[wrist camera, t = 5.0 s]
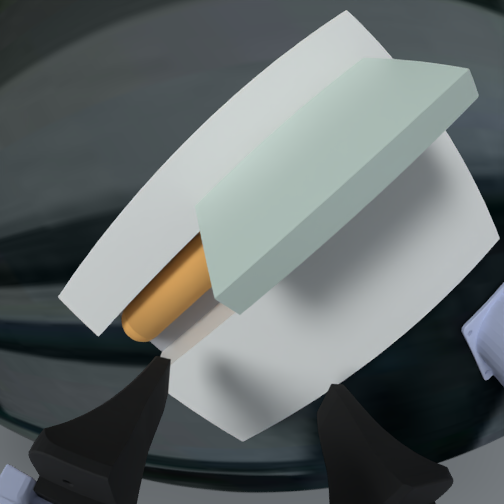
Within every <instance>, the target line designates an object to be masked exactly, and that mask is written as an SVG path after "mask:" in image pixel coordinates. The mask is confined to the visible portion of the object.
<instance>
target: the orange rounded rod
mask: <svg viewBox="0 0 504 504" xmlns="http://www.w3.org/2000/svg"><path fill="white" fill-rule="evenodd" d="M211 287H212V285H211V281H210V276H209V272H208V267H207V263H206V258H205V253H204V248H203V244H202V239H201V234H200V232H199V233H198V234H197V235H196V236H195V237H194V238H193V239H192V240H191V241H190V242H189V243H188V244H187V245H186V246H185V247H184V248H183V249H182V250H181V251H180V252H179V253H178V254H177V255H176V256H175V257H174V258H173V259H172V260H171V261H170V262H169V263H168V264H167V265H166V266H165V267H164V268H163V269H162V270H161V271H160V272H159V273H158V274H157V275H156V276H155V277H154V278H153V279H152V280H151V281H150V282H149V283H148V284H147V285H146V286H145V287H144V288H143V290H142V291H141V292H140V293H139V294H138V295H137V296H136V297H135V298H134V299H133V300H132V301H131V302H130V303H129V304H128V305H127V307H126V308H125V309H124V311H123V314H122V327H123V329H124V331H125V332H126V334H127V335H128V336H129V337H130V338H132V339H133V340H136V341H140V342H147V341H150V340H152V339H154V338H155V337H157V336H158V335H159V334H160V333H161V332H162V331H163V330H164V329H165V328H167V327H168V326H169V325H170V324H171V323H172V322H173V321H174V320H175V319H177V318H178V317H179V316H180V315H181V314H182V313H183V312H184V311H185V310H187V309H188V308H189V307H190V306H191V305H192V304H193V303H194V302H195V301H197V300H198V299H199V298H200V297H201V296H202V295H203V294H204V293H205V292H207V291H208V290H209V289H210V288H211Z"/></svg>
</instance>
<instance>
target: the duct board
mask: <svg viewBox="0 0 504 504" xmlns="http://www.w3.org/2000/svg"><path fill="white" fill-rule="evenodd" d="M363 58H382V59H393V58H392V57H391V56H390V55H389V54H388V52H387V51H386V50H385V49H384V48H383V47H382V46H381V45H380V43H379V42H378V41H377V40H376V39H375V38H374V37H373V36H372V35H371V34H370V33H369V32H368V31H367V30H366V29H365V28H364V27H363V26H362V25H361V24H360V23H359V22H358V21H357V20H356V19H355V18H354V17H353V16H352V15H351V14H350V13H349V12H348V11H347V10H346V11H344V12H343V13H341V14H340V15H338V16H337V17H335V18H334V19H332V20H331V21H329V22H328V23H326V24H325V25H323V26H322V27H320V28H319V29H318V30H316V31H315V32H313V33H312V34H311V35H309V36H308V37H306V38H305V39H304V40H302V41H301V42H300V43H298V44H297V45H296V46H294V47H293V48H292V49H290V50H289V51H288V52H286V53H285V54H284V55H282V56H281V57H280V58H279V59H277V60H276V61H275V62H274V63H272V64H271V65H270V66H269V67H267V68H266V69H265V70H264V71H262V72H261V73H260V74H259V75H258V76H256V77H255V78H254V79H253V80H252V81H250V82H249V83H248V84H247V85H246V86H245V87H243V88H242V89H241V90H240V91H239V92H238V93H237V94H235V95H234V96H233V97H232V98H231V99H230V100H229V101H228V102H226V103H225V104H224V105H223V106H222V107H221V108H220V109H219V110H218V111H217V112H216V113H215V114H213V115H212V116H211V117H210V118H209V119H208V120H207V121H206V122H205V123H204V124H203V125H202V126H201V127H200V128H199V129H198V130H197V131H196V132H195V133H194V134H193V135H192V136H191V137H190V138H189V139H188V140H187V141H186V142H185V143H184V144H183V145H182V146H181V147H180V148H179V149H178V150H177V151H176V152H175V153H174V154H173V155H172V156H171V157H170V158H169V159H168V160H167V161H166V162H165V163H164V164H163V166H162V167H161V168H160V169H159V170H158V171H157V172H156V173H155V174H154V175H153V176H152V178H151V179H150V180H149V181H148V182H147V183H146V184H145V185H144V186H143V188H142V189H141V190H140V191H139V192H138V193H137V194H136V196H135V197H134V198H133V199H132V200H131V201H130V203H129V204H128V205H127V206H126V207H125V209H124V210H123V211H122V212H121V213H120V215H119V216H118V217H117V218H116V219H115V221H114V222H113V223H112V224H111V226H110V227H109V228H108V229H107V231H106V232H105V233H104V234H103V236H102V237H101V238H100V240H99V241H98V242H97V243H96V245H95V246H94V247H93V249H92V250H91V251H90V253H89V254H88V255H87V257H86V258H85V259H84V261H83V262H82V263H81V265H80V266H79V268H78V269H77V270H76V272H75V273H74V275H73V276H72V277H71V279H70V280H69V282H68V283H67V285H66V286H65V288H64V289H63V291H62V292H61V293H60V295H59V296H58V298H59V299H60V300H61V301H62V302H63V303H64V304H65V305H66V306H67V307H68V308H69V309H70V310H71V311H72V312H73V313H74V314H75V315H76V316H77V317H78V318H79V319H80V320H81V321H82V322H83V323H84V324H86V325H87V326H88V327H89V328H90V329H91V330H92V331H93V332H94V333H95V334H96V335H97V336H98V337H99V335H100V334H101V333H102V332H103V331H104V330H105V329H106V328H107V327H108V326H109V324H110V323H111V322H112V321H113V320H114V319H115V318H116V317H117V316H118V315H119V314H120V315H121V316H122V314H123V311H124V309H125V308H126V307H127V305H128V304H129V303H130V302H131V301H132V300H133V299H134V298H135V297H136V296H137V295H138V294H139V293H140V292H141V291H142V290H143V288H144V287H145V286H146V285H147V284H148V283H149V282H150V281H151V280H152V279H153V278H154V277H155V276H156V275H157V274H158V273H159V272H160V271H161V270H162V269H163V268H164V267H165V266H166V265H167V264H168V263H169V262H170V261H171V260H172V259H173V258H174V257H175V256H176V255H177V254H178V253H179V252H180V251H181V250H182V249H183V248H184V247H185V246H186V245H187V244H188V243H189V242H190V241H191V240H192V239H193V238H194V237H195V236H196V235H197V234H198V233H199V232H200V229H199V224H198V219H197V214H196V209H195V206H196V205H197V204H198V203H199V202H200V201H201V200H202V199H203V198H204V197H205V196H206V195H207V194H208V193H209V192H210V191H211V190H212V189H213V188H214V187H215V186H216V185H217V184H218V183H219V182H220V181H221V180H222V179H223V178H224V177H225V176H226V175H227V174H228V173H229V172H230V171H231V170H233V169H234V168H235V167H236V166H237V165H238V164H239V163H240V162H241V161H242V160H243V159H244V158H245V157H246V156H247V155H249V154H250V153H251V152H252V151H253V150H254V149H255V148H256V147H257V146H258V145H259V144H261V143H262V142H263V141H264V140H265V139H266V138H267V137H268V136H269V135H271V134H272V133H273V132H274V131H275V130H276V129H277V128H279V127H280V126H281V125H282V124H283V123H284V122H285V121H287V120H288V119H289V118H290V117H291V116H292V115H293V114H295V113H296V112H297V111H298V110H299V109H300V108H302V107H303V106H304V105H305V104H306V103H308V102H309V101H310V100H311V99H312V98H314V97H315V96H316V95H317V94H318V93H320V92H321V91H322V90H323V89H324V88H326V87H327V86H328V85H329V84H331V83H332V82H333V81H334V80H336V79H337V78H338V77H339V76H341V75H342V74H343V73H344V72H346V71H347V70H348V69H350V68H351V67H352V66H353V65H355V64H356V63H357V62H359V61H360V60H361V59H363ZM498 240H499V236H498V233H497V231H496V228H495V226H494V223H493V221H492V218H491V216H490V214H489V211H488V209H487V207H486V205H485V203H484V200H483V198H482V196H481V194H480V192H479V190H478V188H477V186H476V184H475V182H474V180H473V178H472V176H471V174H470V172H469V170H468V168H467V166H466V165H465V163H464V161H463V159H462V157H461V156H460V154H459V152H458V150H457V149H456V147H455V145H454V144H453V142H452V140H451V139H450V137H449V135H448V134H447V132H446V130H445V131H444V132H443V133H442V134H441V135H440V136H439V137H438V138H437V139H436V140H435V141H434V142H433V143H432V144H431V145H430V146H429V147H428V148H427V149H426V150H425V151H424V152H423V153H422V154H421V155H420V156H419V157H418V158H417V159H416V160H414V161H413V162H412V163H411V164H410V165H409V166H408V167H407V168H406V169H405V170H404V171H403V172H402V173H401V174H400V175H399V176H398V177H397V178H396V179H394V180H393V181H392V182H391V183H390V184H389V185H388V186H387V187H386V188H385V189H384V190H383V191H382V192H381V193H379V194H378V195H377V196H376V197H375V198H374V199H373V200H372V201H371V202H370V203H369V204H368V205H366V206H365V207H364V208H363V209H362V210H361V211H360V212H359V213H358V214H357V215H355V216H354V217H353V218H352V219H351V220H350V221H349V222H348V223H347V224H345V225H344V226H343V227H342V228H341V229H340V230H339V231H338V232H336V233H335V234H334V235H333V236H332V237H331V238H330V239H329V240H327V241H326V242H325V243H324V244H323V245H322V246H321V247H320V248H318V249H317V250H316V251H315V252H314V253H313V254H312V255H310V256H309V257H308V258H307V259H306V260H305V261H303V262H302V263H301V264H300V265H299V266H298V267H297V268H295V269H294V270H293V271H292V272H291V273H290V274H288V275H287V276H286V277H285V278H284V279H282V280H281V281H280V282H279V283H278V284H277V285H275V286H274V287H273V288H272V289H271V290H269V291H268V292H267V293H266V294H265V295H264V296H262V297H261V298H260V299H259V300H258V301H256V302H255V303H254V304H253V305H252V306H250V307H249V308H248V309H247V310H245V311H244V312H243V313H242V314H241V315H239V314H237V313H236V312H234V311H233V310H231V309H230V308H228V307H227V306H225V305H223V304H222V303H220V302H219V301H217V300H216V299H214V294H213V290H212V287H211V288H210V289H209V290H208V291H207V292H205V293H204V294H203V295H202V296H201V297H200V298H199V299H198V300H197V301H195V302H194V303H193V304H192V305H191V306H190V307H189V308H188V309H187V310H185V311H184V312H183V313H182V314H181V315H180V316H179V317H178V318H177V319H175V320H174V321H173V322H172V323H171V324H170V325H169V326H168V327H167V328H165V329H164V330H163V331H162V332H161V333H160V334H159V335H158V336H157V337H155V338H154V339H152V340H150V342H151V343H153V344H154V345H155V346H156V347H157V348H159V349H160V350H161V351H162V354H161V356H160V357H164V358H168V359H171V364H170V377H169V390H168V393H169V394H170V395H171V396H173V397H174V398H176V399H177V400H178V401H180V402H181V403H183V404H184V405H186V406H187V407H189V408H190V409H192V410H193V411H194V412H196V413H197V414H199V415H201V416H202V417H204V418H205V419H207V420H208V421H210V422H211V423H213V424H215V425H216V426H218V427H219V428H221V429H223V430H224V431H226V432H227V433H229V434H231V435H233V436H234V437H236V438H238V439H239V440H241V441H245V440H247V439H249V438H250V437H252V436H254V435H256V434H258V433H260V432H262V431H264V430H265V429H267V428H269V427H271V426H272V425H274V424H276V423H278V422H280V421H281V420H283V419H285V418H286V417H288V416H290V415H291V414H293V413H295V412H296V411H298V410H300V409H301V408H303V407H304V406H306V405H308V404H309V403H311V402H312V401H314V400H316V399H317V398H319V397H320V396H322V395H323V394H325V393H326V392H328V389H329V387H330V385H331V384H339V383H341V382H342V381H344V380H345V379H347V378H348V377H349V376H351V375H352V374H354V373H355V372H356V371H358V370H359V369H360V368H362V367H363V366H364V365H366V364H367V363H368V362H370V361H371V360H372V359H374V358H375V357H376V356H378V355H379V354H380V353H381V352H383V351H384V350H385V349H386V348H388V347H389V346H390V345H391V344H393V343H394V342H395V341H396V340H397V339H399V338H400V337H401V336H402V335H403V334H405V333H406V332H407V331H408V330H409V329H410V328H412V327H413V326H414V325H415V324H416V323H417V322H418V321H420V320H421V319H422V318H423V317H424V316H425V315H426V314H427V313H428V312H430V311H431V310H432V309H433V308H434V307H435V306H436V305H437V304H438V303H439V302H440V301H441V300H442V299H443V298H444V297H445V296H446V295H448V294H449V293H450V292H451V291H452V290H453V289H454V288H455V287H456V286H457V285H458V284H459V283H460V282H461V280H462V279H463V278H464V277H465V276H466V275H467V274H468V273H469V272H470V271H471V270H472V269H473V268H474V267H475V266H476V265H477V264H478V262H479V261H480V260H481V259H482V258H483V257H484V256H485V255H486V254H487V252H488V251H489V250H490V249H491V248H492V247H493V245H494V244H495V243H496V242H497V241H498Z"/></svg>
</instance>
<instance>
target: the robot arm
mask: <svg viewBox="0 0 504 504" xmlns="http://www.w3.org/2000/svg"><path fill="white" fill-rule="evenodd" d="M461 331H462V334H463V336H464V338H465V340H466V342H467V344H468V346H469V348H470V350H471V352H472V354H473V356H474V358H475V361H476V363H477V365H478V367H479V370H480V372H481V374H482V376H483V378H484V380H488V379H489V378H490V377H491V376H492V375H494V376H495V377H496V378H497V379H498V381H499V382H500V383H501V384H502V385H503V386H504V283H503V284H502V285H501V286H500V287H499V288H498V290H497V291H496V292H495V293H494V294H493V295H492V296H491V297H490V298H489V299H488V301H487V302H486V303H485V304H484V305H483V306H482V307H481V308H480V309H479V310H478V311H477V312H476V313H475V314H474V315H473V316H472V317H471V318H470V319H469V320H468V321H467V322H466V323H465V324H464V325H463V327H462V330H461ZM170 364H171V359H168V358H164V357H159V356H156V357H155V358H154V359H153V360H152V361H151V363H150V364H149V365H148V366H147V367H146V368H145V369H144V370H143V371H142V372H141V373H140V374H139V375H138V376H137V377H136V378H135V379H134V380H133V381H132V382H131V383H130V384H129V385H128V386H126V387H125V388H124V389H123V390H122V391H120V392H119V393H118V394H117V395H115V396H114V397H113V398H111V399H110V400H108V401H107V402H105V403H104V404H102V405H101V406H99V407H97V408H95V409H94V410H92V411H90V412H88V413H86V414H84V415H82V416H80V417H77V418H75V419H73V420H70V421H68V422H65V423H62V424H59V425H55V426H52V427H49V428H45V429H44V430H43V431H42V432H41V434H40V435H39V436H38V437H37V439H36V440H35V442H34V444H33V445H32V447H31V449H30V451H29V458H30V460H31V462H32V464H33V466H34V467H35V469H36V470H37V472H38V474H39V475H40V476H39V478H38V481H35V480H34V479H33V478H32V477H30V476H29V475H27V474H25V473H24V472H22V471H20V470H18V469H16V468H15V467H13V466H11V465H10V464H7V465H6V466H5V468H4V470H3V472H2V473H1V475H0V504H137V499H138V494H139V489H140V484H141V480H142V475H143V471H144V467H145V462H146V458H147V455H148V451H149V448H150V445H151V443H152V440H153V438H154V435H155V432H156V430H157V427H158V424H159V422H160V419H161V416H162V414H163V411H164V407H165V403H166V399H167V395H168V390H169V377H170ZM317 425H318V433H319V438H320V443H321V447H322V451H323V456H324V460H325V465H326V469H327V475H328V485H329V500H330V501H329V502H330V504H435V501H436V500H437V499H438V498H439V497H441V495H443V494H444V493H445V492H446V491H447V490H448V489H449V488H450V487H451V486H452V484H453V478H452V476H451V474H450V472H449V470H448V468H447V467H445V466H443V465H440V464H438V463H435V462H433V461H431V460H429V459H427V458H425V457H423V456H421V455H419V454H417V453H416V452H414V451H412V450H411V449H409V448H408V447H406V446H405V445H403V444H402V443H400V442H399V441H398V440H396V439H395V438H394V437H393V436H391V435H390V434H389V433H388V432H387V431H386V430H384V429H383V428H382V427H381V426H380V425H379V424H378V423H377V422H376V421H375V420H374V419H373V418H372V417H371V416H370V414H369V413H368V412H367V411H366V410H365V409H364V408H363V407H362V405H361V404H360V403H359V402H358V401H357V400H356V399H355V397H354V396H353V395H352V394H351V393H350V391H349V390H348V389H347V388H346V387H345V386H344V385H343V384H331V385H330V387H329V389H328V392H327V394H326V396H325V398H324V400H323V402H322V404H321V406H320V408H319V409H318V411H317Z"/></svg>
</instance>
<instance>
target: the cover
mask: <svg viewBox="0 0 504 504" xmlns="http://www.w3.org/2000/svg"><path fill="white" fill-rule="evenodd" d="M478 97H479V95H478V92H477V89H476V86H475V83H474V80H473V78H472V75H471V72H470V70H469V69H466V68H461V67H455V66H449V65H443V64H436V63H428V62H419V61H410V60H398V59H382V58H363V59H361V60H360V61H359V62H357V63H356V64H355V65H353V66H352V67H351V68H350V69H348V70H347V71H346V72H344V73H343V74H342V75H341V76H339V77H338V78H337V79H336V80H334V81H333V82H332V83H331V84H329V85H328V86H327V87H326V88H324V89H323V90H322V91H321V92H320V93H318V94H317V95H316V96H315V97H314V98H312V99H311V100H310V101H309V102H308V103H306V104H305V105H304V106H303V107H302V108H300V109H299V110H298V111H297V112H296V113H295V114H293V115H292V116H291V117H290V118H289V119H288V120H287V121H285V122H284V123H283V124H282V125H281V126H280V127H279V128H277V129H276V130H275V131H274V132H273V133H272V134H271V135H269V136H268V137H267V138H266V139H265V140H264V141H263V142H262V143H261V144H259V145H258V146H257V147H256V148H255V149H254V150H253V151H252V152H251V153H250V154H249V155H247V156H246V157H245V158H244V159H243V160H242V161H241V162H240V163H239V164H238V165H237V166H236V167H235V168H234V169H233V170H231V171H230V172H229V173H228V174H227V175H226V176H225V177H224V178H223V179H222V180H221V181H220V182H219V183H218V184H217V185H216V186H215V187H214V188H213V189H212V190H211V191H210V192H209V193H208V194H207V195H206V196H205V197H204V198H203V199H202V200H201V201H200V202H199V203H198V204H197V205H196V206H195V209H196V214H197V219H198V224H199V229H200V234H201V239H202V244H203V248H204V253H205V258H206V263H207V267H208V272H209V276H210V281H211V285H212V290H213V294H214V299H216V300H217V301H219V302H220V303H222V304H223V305H225V306H227V307H228V308H230V309H231V310H233V311H234V312H236V313H237V314H239V315H241V314H242V313H243V312H244V311H245V310H247V309H248V308H249V307H250V306H252V305H253V304H254V303H255V302H256V301H258V300H259V299H260V298H261V297H262V296H264V295H265V294H266V293H267V292H268V291H269V290H271V289H272V288H273V287H274V286H275V285H277V284H278V283H279V282H280V281H281V280H282V279H284V278H285V277H286V276H287V275H288V274H290V273H291V272H292V271H293V270H294V269H295V268H297V267H298V266H299V265H300V264H301V263H302V262H303V261H305V260H306V259H307V258H308V257H309V256H310V255H312V254H313V253H314V252H315V251H316V250H317V249H318V248H320V247H321V246H322V245H323V244H324V243H325V242H326V241H327V240H329V239H330V238H331V237H332V236H333V235H334V234H335V233H336V232H338V231H339V230H340V229H341V228H342V227H343V226H344V225H345V224H347V223H348V222H349V221H350V220H351V219H352V218H353V217H354V216H355V215H357V214H358V213H359V212H360V211H361V210H362V209H363V208H364V207H365V206H366V205H368V204H369V203H370V202H371V201H372V200H373V199H374V198H375V197H376V196H377V195H378V194H379V193H381V192H382V191H383V190H384V189H385V188H386V187H387V186H388V185H389V184H390V183H391V182H392V181H393V180H394V179H396V178H397V177H398V176H399V175H400V174H401V173H402V172H403V171H404V170H405V169H406V168H407V167H408V166H409V165H410V164H411V163H412V162H413V161H414V160H416V159H417V158H418V157H419V156H420V155H421V154H422V153H423V152H424V151H425V150H426V149H427V148H428V147H429V146H430V145H431V144H432V143H433V142H434V141H435V140H436V139H437V138H438V137H439V136H440V135H441V134H442V133H443V132H444V131H445V130H446V129H447V128H448V127H449V126H450V125H451V124H452V123H453V122H454V121H455V120H456V119H457V118H458V117H459V116H460V115H461V114H462V113H463V112H464V111H465V110H466V109H467V108H468V107H469V106H470V105H471V104H472V103H473V102H474V101H475V100H476V99H477V98H478Z"/></svg>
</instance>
